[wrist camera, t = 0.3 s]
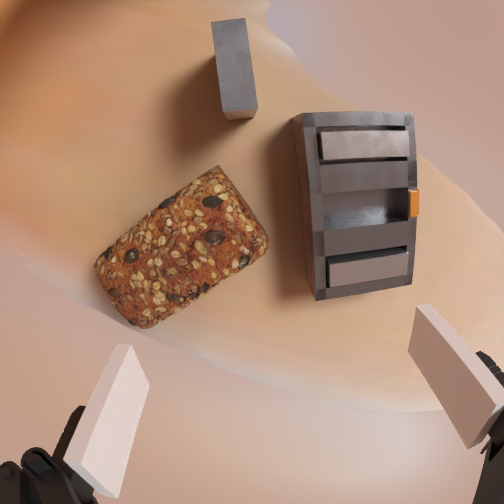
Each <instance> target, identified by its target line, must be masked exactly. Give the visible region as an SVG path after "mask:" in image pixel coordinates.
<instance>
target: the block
mask: <svg viewBox="0 0 504 504" xmlns="http://www.w3.org/2000/svg"><path fill="white" fill-rule="evenodd" d="M211 25H212V33H213V41H214V49H215V57H216V65H217V72H218V80H219V88H220V95H221V103H222V110H223V114H224V115H225V116H226V118H227V119H228V121H229V120H236V119H244V118H252V117H254V116H255V113H256V111H257V109H258V105H257V98H256V90H255V83H254V76H253V69H252V62H251V55H250V48H249V41H248V35H247V28H246V21H245V18H241V19H232V20H224V21H217V22H211Z"/></svg>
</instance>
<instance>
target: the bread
mask: <svg viewBox="0 0 504 504" xmlns="http://www.w3.org/2000/svg"><path fill="white" fill-rule="evenodd" d="M268 247H269V239H268V234H267V233H266V230H265V229H264V228H263V226H262V225H261V223H260V222H259V221H258V219H257V218H256V216H255V215H254V213H253V211H252V210H251V208H250V207H249V206H248V204H247V203H246V201H245V200H244V199H243V197H242V196H241V194H240V193H239V192H238V190H237V189H236V188H235V186H234V185H233V184H232V182H231V181H230V179H229V178H228V177H227V176H226V174H225V173H224V172H223V170H222V169H221V168H220V166H216V167H213V168H212V169H210V170H209V171H208V172H206V173H205V174H203V175H202V176H200V177H199V178H198V179H196V180H195V181H194V182H192V183H190V184H189V185H188V186H186V187H185V188H183V189H182V190H180V191H179V192H177V193H176V194H175V195H174V196H172V197H170V198H168V199H165V200H164V201H163V202H162V203H161V204H160V205H159V206H158V208H156V209H154V210H153V211H151V212H150V213H149V214H147V215H146V216H145V217H144V218H143V219H141V220H140V221H139V224H138V225H137V226H134V227H132V228H130V231H128V232H127V233H125V234H123V235H122V236H121V237H120V238H119V239H118V240H117V241H116V243H115V244H113V245H111V246H109V247H108V248H107V250H106V251H105V252H103V253H102V254H101V255H100V256H99V258H98V259H97V261H96V263H95V265H93V266H94V269H95V272H96V274H97V276H98V277H99V280H100V282H101V284H102V286H103V288H104V290H105V291H106V293H107V295H108V297H109V298H110V299H111V303H112V305H113V306H114V307H115V308H116V309H117V310H118V311H119V312H120V313H121V314H122V315H123V316H124V317H125V318H126V319H127V320H128V321H129V323H130V324H132V325H134V326H136V325H137V326H139V327H140V328H141V329H147V328H152V327H153V326H155V325H156V324H157V323H158V322H162V321H163V320H164V319H166V318H167V317H169V316H171V315H173V314H175V313H177V312H179V311H180V309H184V308H185V307H186V306H188V305H189V304H190V303H191V302H192V301H196V299H197V298H201V297H203V296H204V295H205V294H206V293H207V292H208V291H210V290H211V289H212V288H213V287H215V286H216V285H218V284H219V283H221V282H222V281H223V280H224V279H226V278H227V277H231V276H232V275H234V274H236V273H237V272H239V271H240V270H242V269H243V268H245V267H246V266H248V265H251V264H252V263H253V262H254V261H256V260H257V259H258V258H260V257H261V256H263V255H264V254H265V253H266V250H267V249H268Z"/></svg>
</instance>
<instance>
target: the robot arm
mask: <svg viewBox="0 0 504 504" xmlns="http://www.w3.org/2000/svg"><path fill="white" fill-rule="evenodd" d="M408 353H409V354H410V356H411V357H412V359H413V360H414V362H415V363H416V365H417V366H418V368H419V369H420V371H421V372H422V374H423V376H424V377H425V379H426V380H427V382H428V383H429V385H430V387H431V388H432V390H433V391H434V393H435V395H436V396H437V398H438V399H439V401H440V403H441V404H442V406H443V408H444V409H445V411H446V413H447V414H448V416H449V418H450V420H451V421H452V423H453V424H454V426H455V428H456V430H457V432H458V433H459V435H460V437H461V439H462V440H463V442H464V444H465V446H466V448H467V449H470V448H471V447H473V446H475V445H477V444H479V443H481V442H482V441H483V439H484V438H485V437H486V435H487V434H489V436H490V440H489V441H488V442H487V444H486V445H485V446H484V448H483V449H482V451H481V454H483V452H484V451H485V450H486V449H487V451H486V455H485V460H484V464H483V469H482V472H481V476H480V480H479V484H478V487H477V490H476V494H475V497H474V500H473V503H472V504H504V373H503V372H501V369H500V368H499V367H498V366H496V363H495V362H494V361H493V360H492V359H491V358H490V356H488V355H486V354H485V353H483V352H481V351H479V352H476V353H475V352H474V351H473V350H472V349H471V348H470V347H469V346H468V344H467V343H466V342H465V341H464V340H463V339H462V338H461V336H460V335H459V334H458V333H457V332H456V331H455V330H454V329H453V328H452V327H451V325H450V324H449V323H448V322H447V321H446V320H445V319H444V318H443V317H442V316H441V315H440V314H439V313H438V312H437V310H436V309H435V308H434V307H433V306H432V305H431V304H430V303H428V304H424V305H420V306H416V312H415V318H414V324H413V329H412V334H411V339H410V344H409V348H408ZM149 387H150V385H149V383H148V381H147V378H146V376H145V374H144V372H143V370H142V367H141V365H140V363H139V361H138V358H137V356H136V354H135V351H134V349H133V346H132V344H117V345H116V347H115V349H114V351H113V353H112V355H111V357H110V359H109V361H108V363H107V365H106V367H105V369H104V371H103V373H102V375H101V377H100V379H99V381H98V383H97V385H96V387H95V389H94V391H93V393H92V395H91V397H90V400H89V401H88V404H87V406H79V407H78V408H77V409H76V410H75V411H74V412H73V413H72V414H71V416H70V418H69V420H68V422H67V425H66V427H65V429H64V432H63V433H62V435H61V437H60V440H59V442H58V444H57V446H56V448H55V451H54V453H53V456H52V457H51V456H50V455H49V454H48V453H47V452H46V451H45V450H44V449H42V448H39V447H34V448H30V449H29V450H27V451H26V452H25V453H24V454H23V456H22V459H21V467H22V468H23V469H21V468H20V467H19V466H18V465H17V464H16V463H14V462H12V461H7V462H4V463H3V464H2V465H0V504H98V502H97V500H96V498H95V497H94V496H93V495H92V494H93V491H94V489H95V490H96V491H97V492H98V493H99V494H101V495H103V496H108V497H112V498H118V497H119V493H120V489H121V484H122V481H123V477H124V473H125V470H126V466H127V462H128V458H129V455H130V451H131V447H132V444H133V440H134V437H135V433H136V430H137V426H138V423H139V419H140V416H141V413H142V409H143V406H144V403H145V400H146V396H147V393H148V390H149Z"/></svg>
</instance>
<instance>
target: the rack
mask: <svg viewBox="0 0 504 504" xmlns="http://www.w3.org/2000/svg"><path fill="white" fill-rule="evenodd" d="M292 120H293V129H294V137H295V146H296V155H297V165H298V175H299V185H300V196H301V207H302V220H303V233H304V247H305V263H306V279H307V281H308V284H309V286H310V288H311V291H312V293H313V295H314V298H315V300H316V301H319V300H325V299H331V298H338V297H344V296H350V295H356V294H362V293H367V292H373V291H379V290H384V289H389V288H395V287H400V286H405V285H410V284H412V276H413V267H414V255H415V241H416V222H417V215H418V214H419V190H418V189H417V161H416V143H415V129H414V117H413V113H401V112H400V113H399V112H367V111H365V112H364V111H352V112H316V113H301V114H299V115H297V116H295V117H293V118H292Z"/></svg>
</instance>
